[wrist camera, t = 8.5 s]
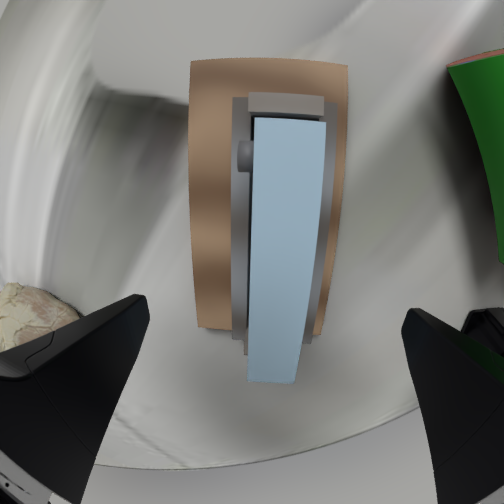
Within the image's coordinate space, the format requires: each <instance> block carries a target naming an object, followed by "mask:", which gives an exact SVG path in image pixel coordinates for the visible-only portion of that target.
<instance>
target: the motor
mask: <svg viewBox="0 0 504 504" xmlns="http://www.w3.org/2000/svg"><path fill="white" fill-rule="evenodd" d="M446 67H447V69H448V71H449V73H450V75H451V77H452V79H453V81H454V83H455V86H456V88H457V90H458V92H459V94H460V97H461V99H462V101H463V104H464V106H465V109H466V111H467V114H468V117H469V119H470V122H471V125H472V128H473V130H474V133H475V136H476V139H477V143H478V146H479V149H480V153H481V156H482V160H483V163H484V167H485V171H486V175H487V180H488V184H489V189H490V194H491V199H492V204H493V210H494V217H495V224H496V232H497V242H498V254H499V261H500V262H501V263H503V264H504V48H503V49H498V50H493V51H489V52H484V53H482V54H478V55H475V56H471V57H468V58H464V59H461V60H458V61H455V62H453V63H450V64H448V65H446Z"/></svg>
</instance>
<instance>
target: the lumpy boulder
mask: <svg viewBox="0 0 504 504" xmlns="http://www.w3.org/2000/svg"><path fill="white" fill-rule="evenodd" d="M78 319H80V317H79V316H78V314H77V312H76V311H75V310H74V309H73V308H71V307H70V306H69V305H67V304H65V303H63V302H61V301H60V300H58V299H56V298H55V297H54V296H52V295H51V294H50V293H48V292H47V291H44V290H40V289H37V288H34V287H24V286H21V285H20V284H19V283H7V284H6V285H5V286H4V288H3V289H2V291H1V292H0V352H2V351H5V350H8V349H10V348H13V347H16V346H18V345H21V344H23V343H26V342H28V341H31V340H33V339H36V338H38V337H40V336H43V335H45V334H47V333H49V332H51V331H55V330H56V329H58V328H60V327H62V326H65V325H67V324H69V323H71V322H73V321H75V320H78Z"/></svg>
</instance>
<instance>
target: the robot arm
mask: <svg viewBox="0 0 504 504" xmlns="http://www.w3.org/2000/svg"><path fill="white" fill-rule="evenodd" d="M149 321H150V314H149V309H148V304H147V299H146V297H145V296H144V295H139V294H133V295H131V296H128V297H126V298H124V299H122V300H119V301H117V302H115V303H113V304H111V305H108V306H106V307H104V308H102V309H100V310H97V311H95V312H93V313H91V314H89V315H86V316H84V317H82V318H80V319H78V320H75V321H73V322H71V323H69V324H67V325H65V326H62V327H60V328H58V329H56V330H55V331H51V332H49V333H47V334H45V335H43V336H40V337H38V338H36V339H33V340H31V341H28V342H26V343H23V344H21V345H18V346H16V347H13V348H10V349H8V350H5V351H2V352H0V504H51V503H50V502H49V498H50V496H51V494H52V493H54V494H56V495H58V496H59V497H61V498H63V499H64V500H66V501H68V502H70V503H71V504H80V503H81V500H82V497H83V494H84V491H85V488H86V485H87V482H88V479H89V476H90V473H91V470H92V468H93V465H94V462H95V459H96V456H97V453H98V451H99V448H100V445H101V443H102V440H103V437H104V435H105V432H106V430H107V427H108V425H109V422H110V420H111V417H112V415H113V412H114V410H115V407H116V405H117V403H118V400H119V398H120V396H121V393H122V391H123V389H124V386H125V384H126V382H127V379H128V377H129V375H130V373H131V370H132V368H133V366H134V364H135V361H136V359H137V357H138V354H139V351H140V348H141V345H142V342H143V339H144V336H145V333H146V330H147V327H148V324H149ZM401 334H402V339H403V343H404V348H405V352H406V357H407V362H408V366H409V370H410V374H411V377H412V380H413V384H414V387H415V391H416V394H417V398H418V402H419V405H420V409H421V413H422V417H423V421H424V425H425V430H426V434H427V438H428V443H429V448H430V453H431V459H432V464H433V470H434V478H435V485H436V492H437V501H438V504H478V503H481V504H504V308H503V307H502V308H499V307H498V308H487V309H481V310H473V311H471V312H470V314H469V316H468V318H467V321H466V323H465V325H464V327H463V329H462V332H460V331H458V330H457V329H455V328H453V327H452V326H450V325H448V324H446V323H445V322H443V321H441V320H440V319H438V318H436V317H434V316H433V315H431V314H429V313H427V312H426V311H424V310H422V309H420V308H411V309H409V310H408V312H407V314H406V317H405V320H404V323H403V326H402V329H401Z"/></svg>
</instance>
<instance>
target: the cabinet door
mask: <svg viewBox="0 0 504 504" xmlns="http://www.w3.org/2000/svg"><path fill="white" fill-rule="evenodd" d="M325 138H326V122H318V121H308V120H296V119H281V118H255V127H254V141H243V140H240V141H239V143H238V150H237V168H238V172H248V173H253V194H252V228H251V262H250V298H249V333H248V369H247V381H253V382H268V383H290V384H294V381H295V376H296V371H297V366H298V361H299V356H300V350H301V345H302V339H303V334H304V328H305V322H306V316H307V310H308V303H309V297H310V290H311V283H312V276H313V268H314V261H315V253H316V244H317V236H318V227H319V217H320V207H321V196H322V184H323V171H324V156H325Z"/></svg>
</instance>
